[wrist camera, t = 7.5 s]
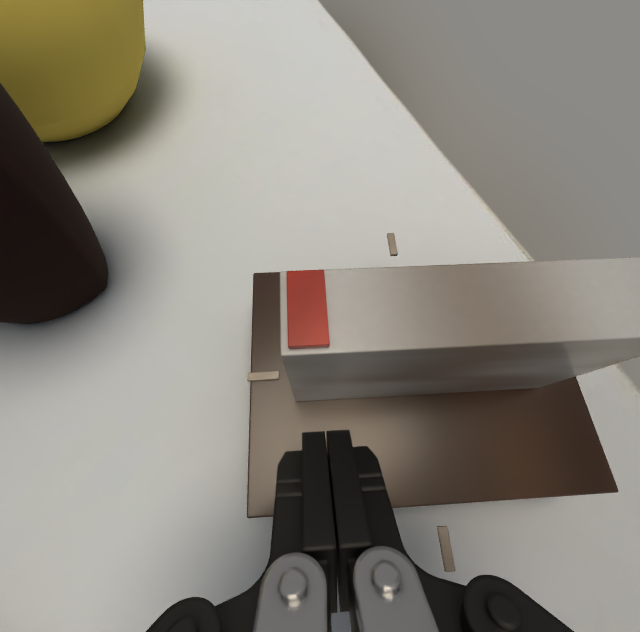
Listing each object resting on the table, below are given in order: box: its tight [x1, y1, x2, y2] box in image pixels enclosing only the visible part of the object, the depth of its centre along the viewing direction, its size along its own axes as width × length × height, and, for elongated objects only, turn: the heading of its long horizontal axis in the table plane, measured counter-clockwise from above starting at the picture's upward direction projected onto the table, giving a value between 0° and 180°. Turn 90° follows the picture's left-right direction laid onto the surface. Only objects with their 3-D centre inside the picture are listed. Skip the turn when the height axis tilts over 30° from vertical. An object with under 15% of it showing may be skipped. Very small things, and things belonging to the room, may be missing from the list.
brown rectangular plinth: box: [247, 233, 618, 572], centre depth 17 cm, size 15×15×4 cm
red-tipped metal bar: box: [280, 257, 640, 401], centre depth 12 cm, size 11×2×7 cm, turn 93°
